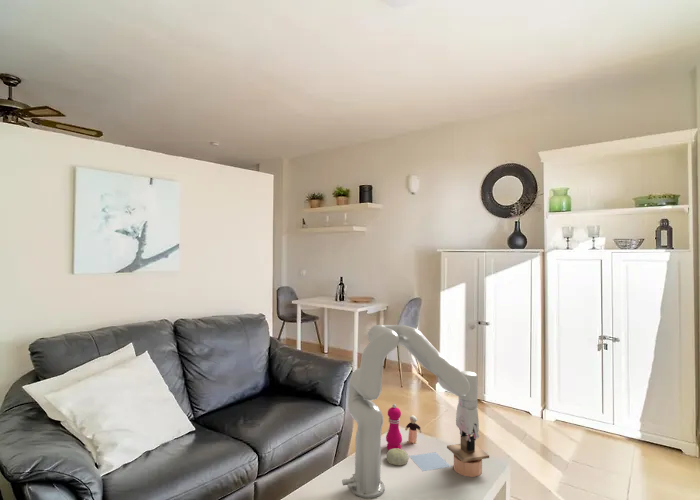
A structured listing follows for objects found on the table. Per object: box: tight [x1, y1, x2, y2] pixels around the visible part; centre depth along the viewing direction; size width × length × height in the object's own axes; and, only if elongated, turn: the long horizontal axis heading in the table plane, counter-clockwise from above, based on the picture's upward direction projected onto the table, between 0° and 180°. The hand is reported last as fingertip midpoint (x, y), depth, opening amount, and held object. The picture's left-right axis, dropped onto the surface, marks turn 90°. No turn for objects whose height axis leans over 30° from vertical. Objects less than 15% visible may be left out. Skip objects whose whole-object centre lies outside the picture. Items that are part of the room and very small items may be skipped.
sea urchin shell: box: [386, 448, 410, 466], centre depth 170 cm, size 9×8×8 cm
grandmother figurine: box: [404, 415, 422, 445], centre depth 187 cm, size 8×4×13 cm, turn 81°
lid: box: [446, 435, 490, 462], centre depth 164 cm, size 12×12×6 cm
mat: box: [408, 451, 452, 472], centre depth 169 cm, size 13×13×1 cm
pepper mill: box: [385, 403, 403, 451], centre depth 181 cm, size 7×7×20 cm
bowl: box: [453, 454, 483, 478], centre depth 163 cm, size 11×11×6 cm
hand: (467, 447), depth 163 cm, fingers closed on lid, 4 cm apart
